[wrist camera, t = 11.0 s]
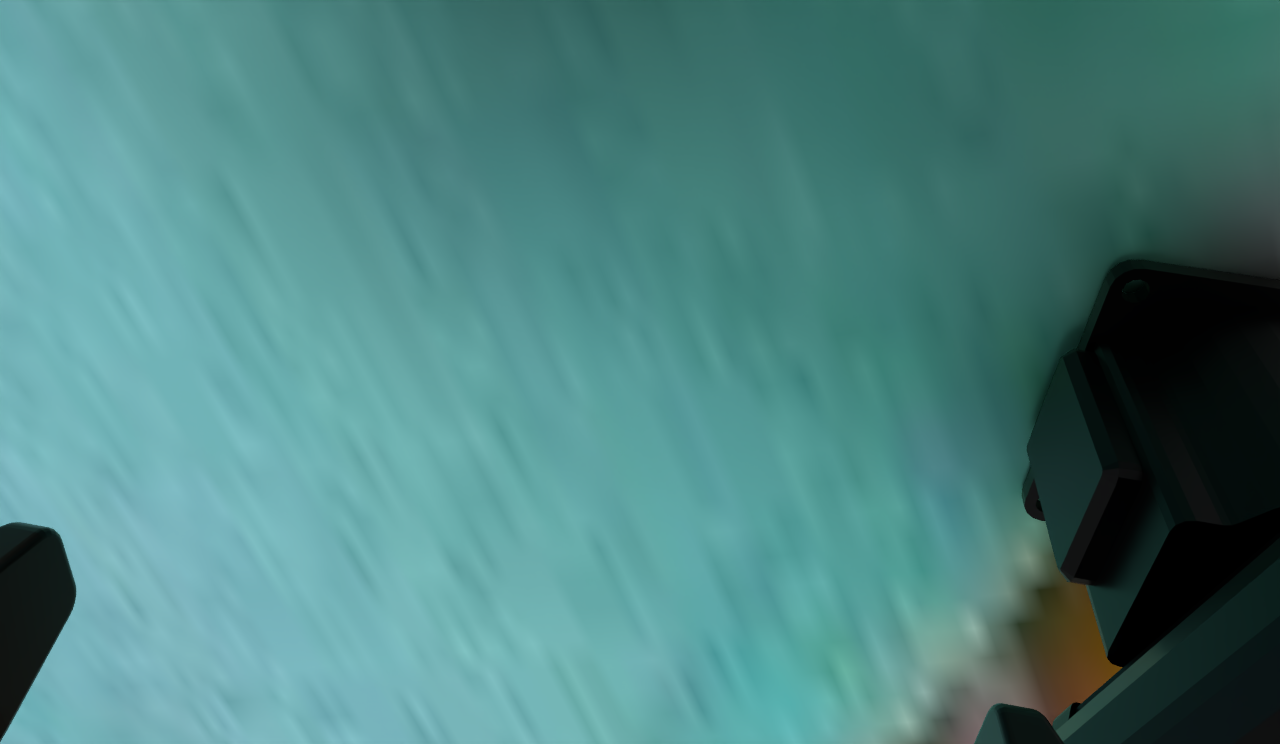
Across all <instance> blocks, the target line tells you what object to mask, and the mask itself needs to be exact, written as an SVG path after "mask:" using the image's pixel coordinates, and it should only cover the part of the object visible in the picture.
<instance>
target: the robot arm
mask: <svg viewBox="0 0 1280 744" xmlns="http://www.w3.org/2000/svg"><path fill="white" fill-rule="evenodd" d="M1133 280H1143V281H1144V285H1143V286H1142V287H1141V289H1140V290H1138V291H1136V292H1134V293H1124V292H1122V289H1123V288H1124V286H1125V285H1126V284H1127V283H1129V282H1131V281H1133ZM1027 453H1028V457H1029V461H1030V464H1031V469H1030V471H1029V474H1028V476H1027V479H1026V481H1025V484H1024V486H1023V489H1022V499H1023V503H1024V507H1025V509H1026V512H1027V513H1028V514H1029V515H1030V516H1031V517H1033V518H1035V519H1038V520H1041V521H1046V525H1047V529H1048V533H1049V536H1050V540H1051V544H1052V548H1053V552H1054V555H1055V559H1056V563H1057V567H1058V569H1059V571H1060V572H1061V573H1062V575H1063V576H1064V578H1065V579H1066V580H1067V582H1072V583H1078V584H1083V585H1086V587H1087V590H1088V594H1089V597H1090V601H1091V604H1092V608H1093V611H1094V614H1095V618H1096V621H1097V625H1098V628H1099V632H1100V635H1101V638H1102V642H1103V645H1104V649H1105V652H1106V656H1107V658H1108V660H1109V661H1110V662H1111V663H1112V664H1114V665H1117V666H1119V667H1123V668H1122V669H1121V670H1120V671H1118V672H1117V673H1116V674H1115V675H1114V676H1113V677H1111V678H1110V679H1109V680H1108V681H1107V682H1106V683H1105V684H1103V685H1102V686H1101V687H1100V688H1099V689H1098V690H1096V691H1095V692H1094V693H1093V694H1092V695H1091V696H1090V697H1088V698H1087V699H1086V700H1085V701H1084V702H1083V703H1077V702H1076V703H1072V704H1071V705H1070V706H1069V707H1068V708H1067V709H1066V710H1064V711H1063V712H1062V713H1061V714H1060V715H1059V716H1058V717H1056V718H1055V720H1054V721H1053V726H1051V724H1050V723H1049V721H1048V720H1047V719H1046V717H1045V716H1044V715H1042V714H1041V713H1040V712H1038V711H1037V710H1034V709H1030V708H1024V707H1019V706H1013V705H1008V704H1003V703H999V704H995V705H993V706H992V707H991V708H990V710H989V711H988V713H987V715H986V718H985V720H984V722H983V725H982V727H981V729H980V731H979V734H978V736H977V738H976V741H975V743H974V744H1280V280H1274V279H1268V278H1261V277H1254V276H1247V275H1241V274H1234V273H1227V272H1221V271H1214V270H1207V269H1200V268H1194V267H1187V266H1180V265H1174V264H1167V263H1160V262H1153V261H1147V260H1127V261H1124V262H1121V263H1119V264H1117V265H1116V266H1115V267H1113V268H1112V269H1111V270H1110V271H1109V273H1108V274H1107V276H1106V277H1105V280H1104V282H1103V285H1102V287H1101V290H1100V292H1099V295H1098V298H1097V300H1096V303H1095V305H1094V308H1093V310H1092V313H1091V315H1090V318H1089V321H1088V323H1087V326H1086V328H1085V331H1084V333H1083V336H1082V338H1081V341H1080V343H1079V346H1078V349H1073V350H1071V351H1070V352H1068V353H1067V354H1065V355H1064V356H1063V357H1061V359H1060V361H1059V364H1058V366H1057V369H1056V371H1055V374H1054V377H1053V379H1052V382H1051V385H1050V387H1049V390H1048V392H1047V395H1046V398H1045V400H1044V403H1043V405H1042V408H1041V411H1040V413H1039V416H1038V418H1037V421H1036V424H1035V426H1034V429H1033V431H1032V434H1031V437H1030V439H1029V442H1028V445H1027ZM1038 499H1040V501H1039V500H1038ZM75 599H76V585H75V581H74V578H73V575H72V571H71V568H70V565H69V561H68V558H67V555H66V552H65V548H64V545H63V542H62V539H61V537H60V535H59V534H58V533H57V532H56V531H55V530H54V529H51V528H49V527H43V526H38V525H32V524H27V523H20V522H15V523H9V524H6V525H4V526H1V527H0V741H1V740H2V738H3V736H4V735H5V733H6V731H7V730H8V728H9V726H10V724H11V722H12V720H13V719H14V717H15V715H16V713H17V711H18V709H19V708H20V706H21V704H22V702H23V700H24V698H25V697H26V695H27V693H28V691H29V689H30V687H31V686H32V684H33V682H34V680H35V678H36V676H37V675H38V673H39V671H40V669H41V667H42V665H43V664H44V662H45V660H46V658H47V656H48V654H49V653H50V651H51V649H52V647H53V645H54V643H55V642H56V640H57V638H58V636H59V634H60V632H61V631H62V629H63V627H64V625H65V623H66V621H67V620H68V618H69V616H70V614H71V612H72V610H73V607H74V604H75Z"/></svg>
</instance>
